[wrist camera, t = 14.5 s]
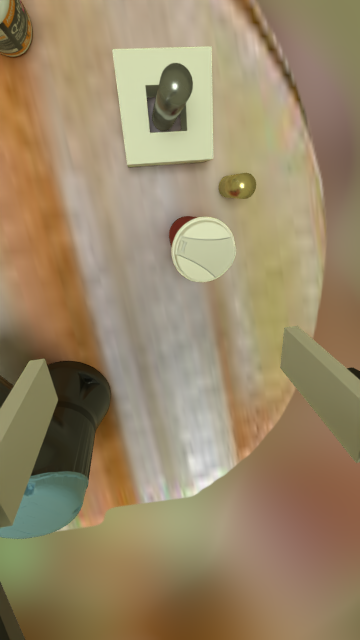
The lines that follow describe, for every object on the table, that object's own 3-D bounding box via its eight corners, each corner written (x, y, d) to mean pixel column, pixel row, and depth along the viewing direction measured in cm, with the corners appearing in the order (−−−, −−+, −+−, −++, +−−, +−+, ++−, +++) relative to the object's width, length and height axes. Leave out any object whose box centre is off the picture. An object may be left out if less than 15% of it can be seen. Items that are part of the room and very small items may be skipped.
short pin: (217, 197, 43) (232, 198, 37) (219, 175, 42) (234, 172, 36) (236, 197, 44) (254, 199, 37) (238, 176, 43) (257, 173, 36)
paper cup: (156, 251, 46) (164, 276, 33) (170, 202, 43) (184, 208, 30) (202, 264, 47) (226, 292, 35) (217, 217, 45) (249, 229, 32)
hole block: (128, 167, 40) (127, 164, 36) (115, 66, 35) (112, 49, 31) (204, 161, 41) (213, 158, 37) (202, 63, 36) (211, 46, 32)
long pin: (153, 131, 39) (161, 105, 26) (150, 104, 37) (158, 63, 25) (175, 130, 39) (193, 104, 26) (173, 103, 38) (192, 62, 25)
